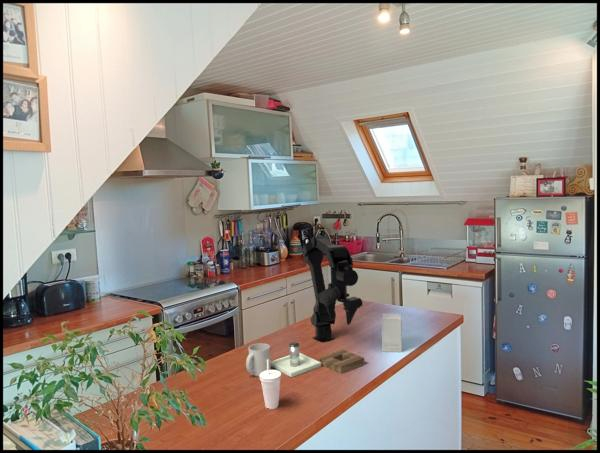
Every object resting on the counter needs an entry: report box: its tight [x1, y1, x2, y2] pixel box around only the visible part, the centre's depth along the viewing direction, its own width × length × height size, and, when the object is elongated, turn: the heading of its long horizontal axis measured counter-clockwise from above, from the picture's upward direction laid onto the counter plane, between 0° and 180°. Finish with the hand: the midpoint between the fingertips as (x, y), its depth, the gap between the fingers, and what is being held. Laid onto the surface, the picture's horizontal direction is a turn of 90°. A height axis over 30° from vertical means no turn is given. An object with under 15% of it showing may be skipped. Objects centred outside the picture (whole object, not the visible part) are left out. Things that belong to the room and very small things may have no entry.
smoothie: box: [258, 359, 282, 410], centre depth 133 cm, size 6×6×14 cm
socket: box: [319, 348, 365, 375], centre depth 161 cm, size 11×11×2 cm
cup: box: [245, 342, 272, 377], centre depth 156 cm, size 7×10×9 cm
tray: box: [270, 352, 322, 378], centre depth 161 cm, size 13×13×2 cm
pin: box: [289, 341, 300, 367], centre depth 161 cm, size 3×3×8 cm
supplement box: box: [381, 313, 403, 353], centre depth 173 cm, size 7×7×13 cm
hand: (340, 321), depth 171 cm, fingers open, 9 cm apart
